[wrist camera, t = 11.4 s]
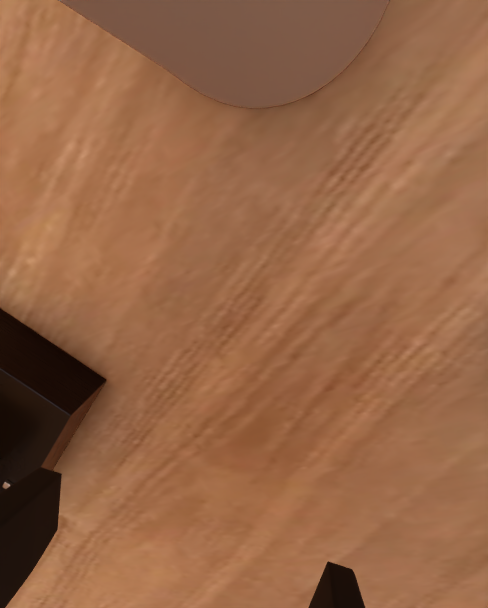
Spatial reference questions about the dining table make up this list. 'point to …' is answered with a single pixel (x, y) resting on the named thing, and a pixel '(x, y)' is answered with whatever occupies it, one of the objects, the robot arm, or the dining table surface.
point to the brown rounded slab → (243, 42)
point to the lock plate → (38, 400)
